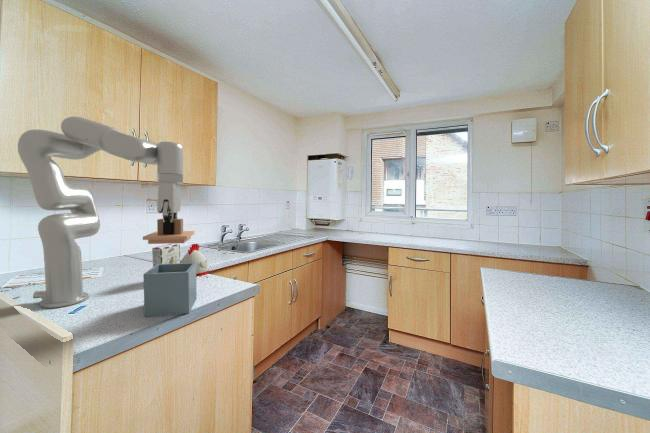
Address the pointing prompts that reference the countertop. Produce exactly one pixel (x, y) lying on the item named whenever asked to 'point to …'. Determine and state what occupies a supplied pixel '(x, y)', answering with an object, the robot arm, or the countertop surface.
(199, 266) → the kitchen timer
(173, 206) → the robot arm
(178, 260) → the candy bar box
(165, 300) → the box
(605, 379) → the countertop surface
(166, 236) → the lid
